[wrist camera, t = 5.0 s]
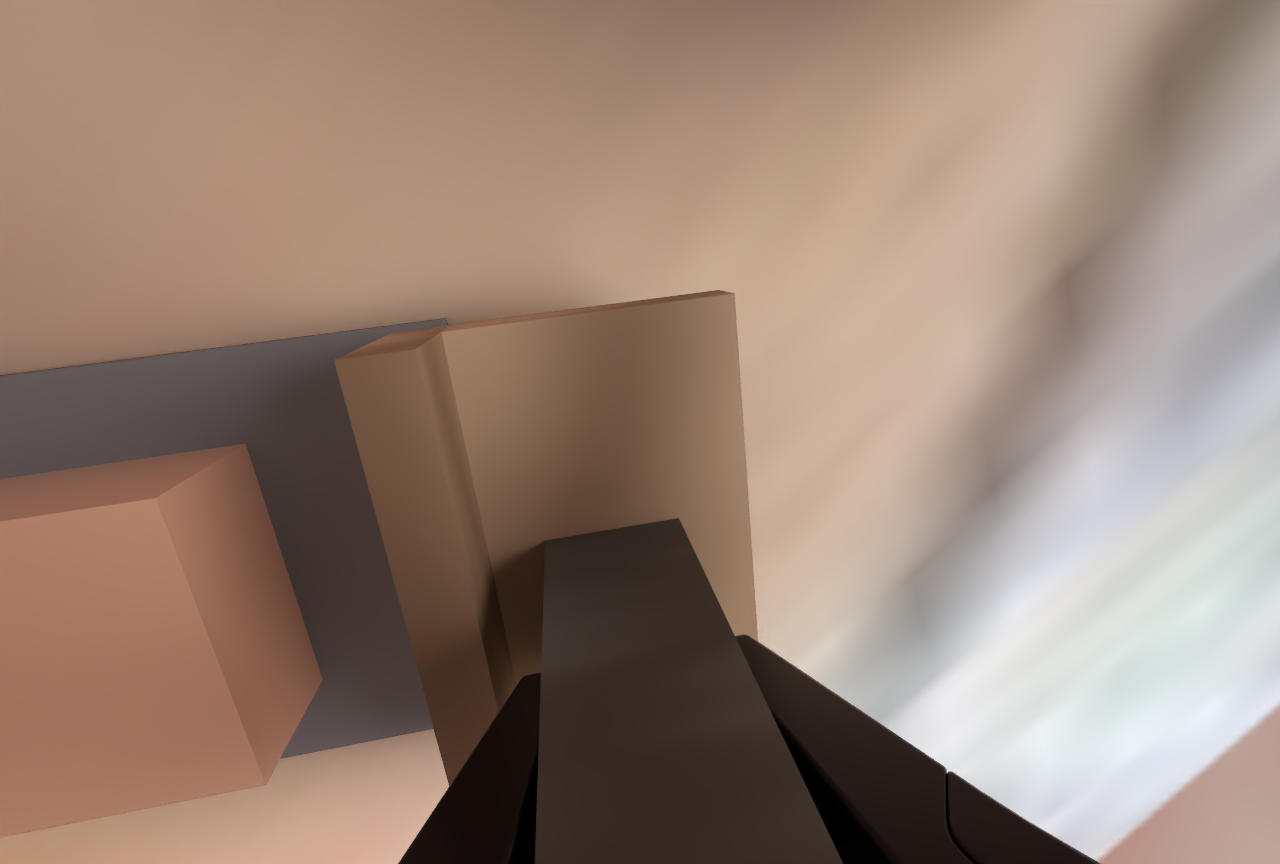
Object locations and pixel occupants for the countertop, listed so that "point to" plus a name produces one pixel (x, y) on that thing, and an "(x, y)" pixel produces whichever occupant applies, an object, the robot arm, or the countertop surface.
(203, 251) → the countertop surface
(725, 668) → the beige ledged slab
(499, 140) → the countertop surface
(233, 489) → the tile
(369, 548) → the gray ledged slab
